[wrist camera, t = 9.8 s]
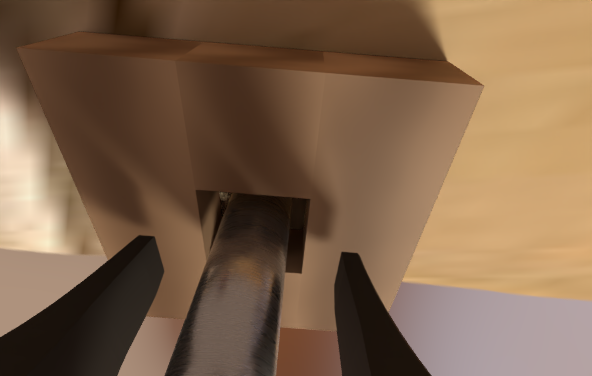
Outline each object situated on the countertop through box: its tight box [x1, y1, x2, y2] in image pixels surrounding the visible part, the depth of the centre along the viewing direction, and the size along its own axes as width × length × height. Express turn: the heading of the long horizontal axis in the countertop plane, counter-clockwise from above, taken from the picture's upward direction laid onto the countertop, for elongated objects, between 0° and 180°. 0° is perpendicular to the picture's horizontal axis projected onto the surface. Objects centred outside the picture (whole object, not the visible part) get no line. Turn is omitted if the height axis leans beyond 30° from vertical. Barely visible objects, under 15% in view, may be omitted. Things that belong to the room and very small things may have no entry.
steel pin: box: [165, 193, 292, 376], centre depth 12 cm, size 3×3×10 cm
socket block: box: [16, 32, 484, 332], centre depth 14 cm, size 14×14×3 cm
